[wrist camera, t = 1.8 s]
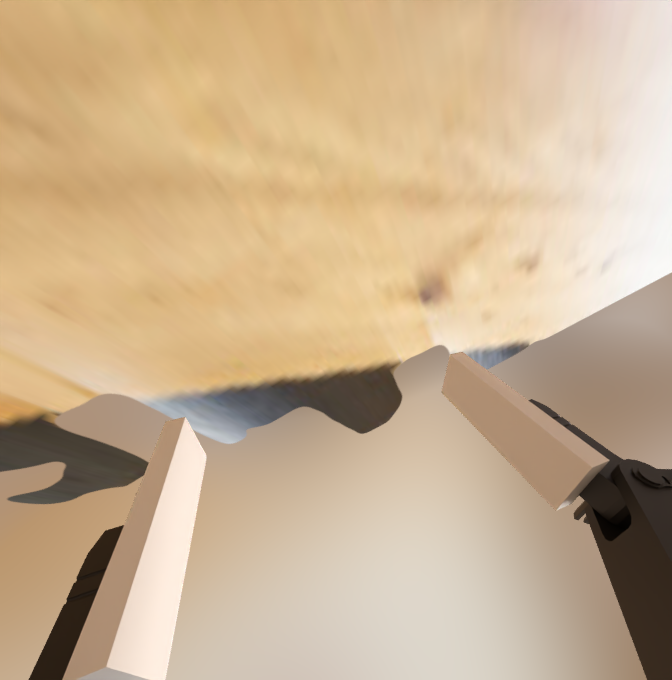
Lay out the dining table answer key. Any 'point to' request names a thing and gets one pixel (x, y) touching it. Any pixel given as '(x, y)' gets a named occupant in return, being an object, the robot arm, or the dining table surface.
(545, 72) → the dining table surface
